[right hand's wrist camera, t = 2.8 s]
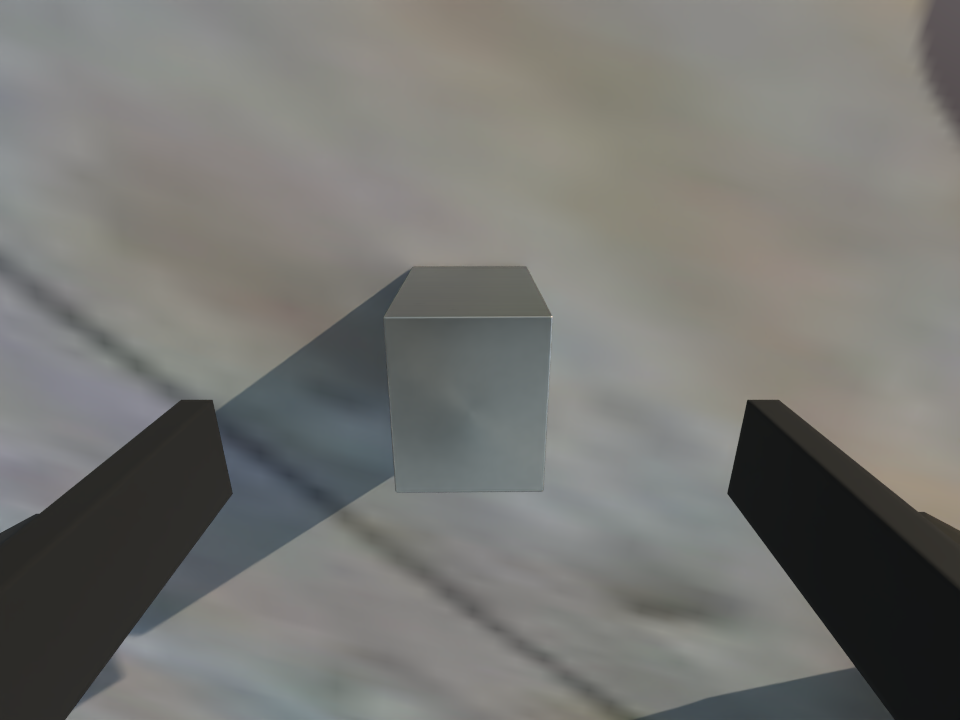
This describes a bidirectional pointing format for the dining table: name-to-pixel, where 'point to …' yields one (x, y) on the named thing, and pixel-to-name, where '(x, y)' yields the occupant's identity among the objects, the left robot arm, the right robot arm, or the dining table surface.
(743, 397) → the dining table surface
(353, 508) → the dining table surface
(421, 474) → the block
